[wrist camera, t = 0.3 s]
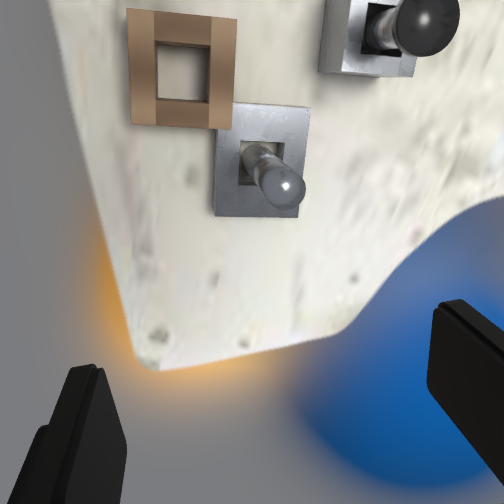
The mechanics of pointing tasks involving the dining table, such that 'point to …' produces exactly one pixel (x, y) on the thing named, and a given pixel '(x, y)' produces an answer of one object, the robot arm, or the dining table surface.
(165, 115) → the block
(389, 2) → the housing
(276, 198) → the grey round-topped peg
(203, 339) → the dining table surface
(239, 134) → the socket plate
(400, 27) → the dark grey knobbed peg
